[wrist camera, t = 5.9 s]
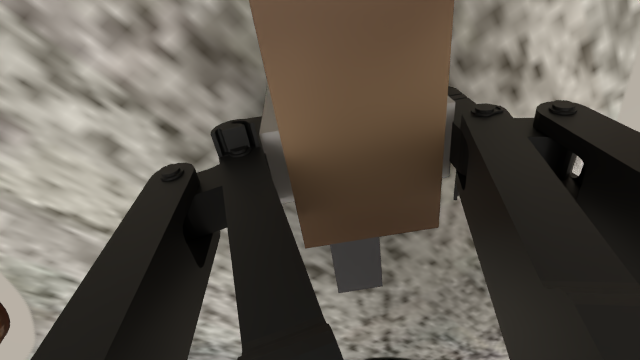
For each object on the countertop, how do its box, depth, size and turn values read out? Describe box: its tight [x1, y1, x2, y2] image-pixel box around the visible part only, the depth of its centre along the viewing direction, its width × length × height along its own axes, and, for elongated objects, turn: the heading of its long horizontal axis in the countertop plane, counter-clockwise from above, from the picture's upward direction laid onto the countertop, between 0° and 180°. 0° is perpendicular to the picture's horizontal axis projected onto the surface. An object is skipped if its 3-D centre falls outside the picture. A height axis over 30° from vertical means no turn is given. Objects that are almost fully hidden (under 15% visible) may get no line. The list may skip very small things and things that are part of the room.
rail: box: [330, 237, 383, 293], centre depth 18 cm, size 17×3×4 cm, turn 8°
